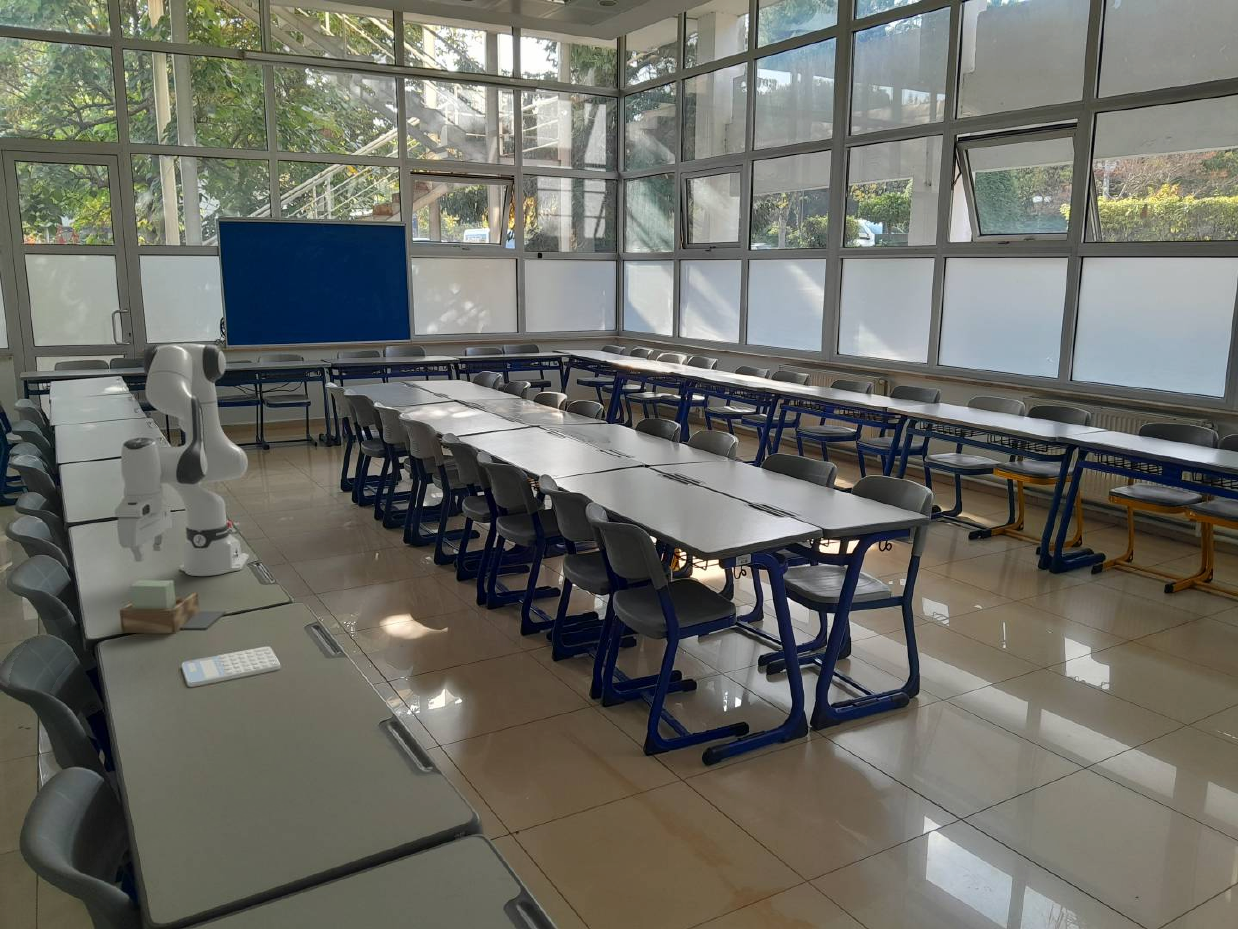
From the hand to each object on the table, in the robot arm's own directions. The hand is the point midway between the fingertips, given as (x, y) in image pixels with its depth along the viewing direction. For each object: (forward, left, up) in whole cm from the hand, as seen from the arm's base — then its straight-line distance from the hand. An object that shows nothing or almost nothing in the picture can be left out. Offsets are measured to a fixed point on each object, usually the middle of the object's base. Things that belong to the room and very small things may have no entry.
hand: (149, 555), depth 234 cm
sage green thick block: (0, 0, -20) cm, 20 cm away
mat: (-5, +10, -19) cm, 22 cm away
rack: (-3, 0, -19) cm, 20 cm away
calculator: (+25, +29, -20) cm, 44 cm away
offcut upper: (-7, 0, -17) cm, 18 cm away
